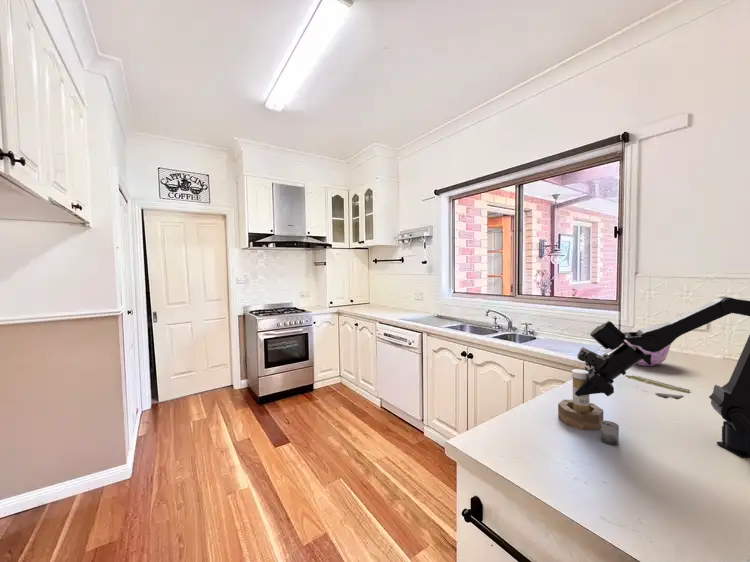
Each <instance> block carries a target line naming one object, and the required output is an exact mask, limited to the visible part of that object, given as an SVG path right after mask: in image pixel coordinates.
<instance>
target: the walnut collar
mask: <svg viewBox="0 0 750 562" xmlns="http://www.w3.org/2000/svg"><path fill="white" fill-rule="evenodd" d="M557 413H558V414H557V418H558V419H559V420H560V421H561V422H563V423H564V424H565V425H567V426H570V427H572V428H575V429H578V430H583V431H599V430H600V431H601V421H604V409H602V408H601V407H599V406H598V405H596V404H595V403H593V402H589V412H581V411H577V410H573V399H562V400H561V401H560V402H558V404H557Z"/></svg>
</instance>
